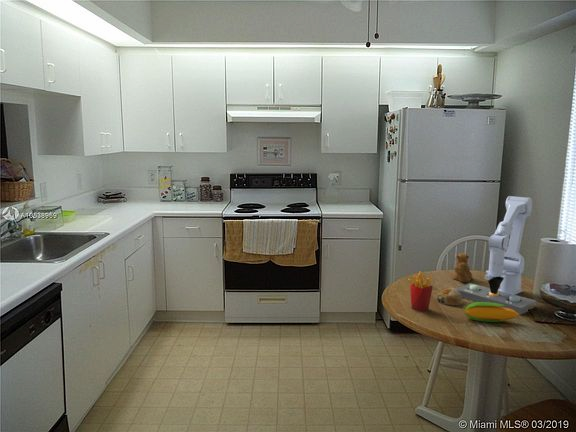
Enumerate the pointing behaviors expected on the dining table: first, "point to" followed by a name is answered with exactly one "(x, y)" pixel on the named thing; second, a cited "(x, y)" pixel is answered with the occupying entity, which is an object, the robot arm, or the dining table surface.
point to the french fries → (420, 292)
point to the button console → (495, 298)
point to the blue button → (514, 298)
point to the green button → (474, 287)
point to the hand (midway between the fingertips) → (493, 293)
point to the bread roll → (449, 297)
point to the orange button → (494, 294)
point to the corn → (489, 312)
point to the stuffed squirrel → (462, 269)
